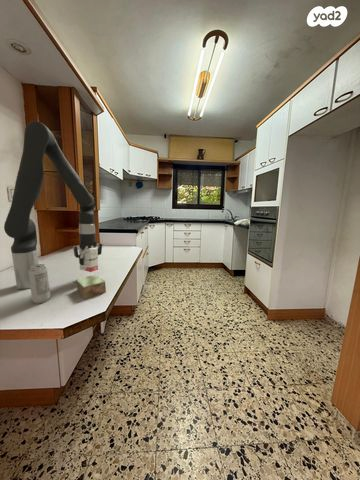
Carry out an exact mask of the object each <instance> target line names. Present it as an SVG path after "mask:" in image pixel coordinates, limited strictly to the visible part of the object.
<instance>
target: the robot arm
mask: <svg viewBox="0 0 360 480" xmlns="http://www.w3.org/2000/svg"><path fill="white" fill-rule="evenodd" d="M23 136H24V137H23V148H22V149H23V150H22V153H21V154H22V155H21V158H20V162H19V166H18V171H17V175H16V180H15V183H14V190H13V194H12V199H11V204H10V208H9V211H8V214H7V216H6V217H5V221H4V226H3V230H4V233H5V234H6V235H7V236H8V237H9V238H11V239H13V243H12V245H11V246H10V251H11V257H12V264H13V270H14V272H13V273H14V277H15V283H16V284H15V285H16V288H17V290H26V289H31V287H30V280H29V273H28V271H29V269H30V266H32V265H36V264H39V257H38V250H37V245H38V235H37V234H38V233H37V228H36V227H37V226H36V224H35V222H34V221H33V220H32V219H31V218H30V217H31V213H32V209H33V207H34V205H35V204H36V202H37V201H38V200H39V197H40V195H41V192H42V191H43V186H44V185H43V184H44V180H45V170H44V155H45V156H47V157H48V158H49V160H50V161H51V164H53V166H54V168H55V170H56V172H57V174H58V175H59V176H60V178H61V179H62V182H63V183H64V184H65V185H66V187H67V188H68V189H69V190H70V193H71V194H72V196H73V198H74V199H75V202H77V204H79V213H78V237H79V243H78V245H72V250H73V255H74V257H75V258H77V259H78V262H79V265H80V264H81V265H83V256H84V254H85V252H86V249H87V248H98V256H99V255H102V249H103V244H102V243H101V242H97V240H96V239H97V238H96V237H97V235H96V226H95V225H96V224H95V198H94V197H95V196H93V195H92V194H91V193H90V192H89V191H88V190H87V188H86V186H85V185H84V183H83V180H82V179H81V178H80V176H79V175H78V173H77V172H76V170H75V169H74V168H73V166H72V165H71V164H70V162H69V161H68V160H67V158H66V157H65V155H64V153H63V151H62V150H61V148H60V146H59V144H58V141H57V140H56V138H55V135H54V133H53V132H52V131H51V130H50V129H49V127H47V126H46V125H45V124H44V123H42V122H41V121H38V120H34V121H30V122H29V123H27V124H26V126H25V129H24V134H23ZM79 248H81V249H82V250H83V252H82V250H81V251H80V254H79Z"/></svg>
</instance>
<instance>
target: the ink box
mask: <svg viewBox="0 0 360 480" xmlns="http://www.w3.org/2000/svg"><path fill="white" fill-rule="evenodd" d="M81 250H82V249H81V248H80V247H79V249H78V255H79V254H80V251H81ZM82 252H83V250H82ZM79 270H81V271H85V272H89V273H92V272H96V271H98V270H99V255H98V247H95V248H87V249H86V252H85V254H84V256H83V265H81V264H80V263H79Z"/></svg>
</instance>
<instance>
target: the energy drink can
mask: <svg viewBox="0 0 360 480" xmlns="http://www.w3.org/2000/svg"><path fill="white" fill-rule="evenodd" d="M45 265H46V264H44V263H38V264H36V265H32V266H30V269H29V271H28V273H29V280H30V287H31V288H30V292H31V293H30V294H31V301H32V302H33V303H34V304H43V303H45V301H46V302H48V301H49V300H50V297H51V290H50V282H49V281H50V280H49V276H48V275H49V274H48V268H47V267H46V266H45ZM47 300H48V301H47Z"/></svg>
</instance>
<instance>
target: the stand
mask: <svg viewBox="0 0 360 480" xmlns="http://www.w3.org/2000/svg"><path fill="white" fill-rule="evenodd" d="M75 283H76V290H77V292H78V293H79V294H80V295H81V296H82V297H83V299H88V298H92V297H95V296H97V295H98V296H99V295H102V294H105V293H107V288H106V280H105V279H103V278H102V277H100V276H99V275H97V274H92V275H88V276H84V277H80V278H76V279H75Z"/></svg>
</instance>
